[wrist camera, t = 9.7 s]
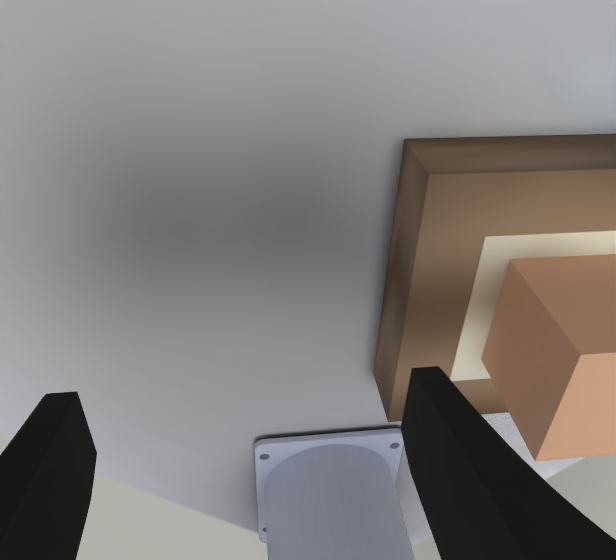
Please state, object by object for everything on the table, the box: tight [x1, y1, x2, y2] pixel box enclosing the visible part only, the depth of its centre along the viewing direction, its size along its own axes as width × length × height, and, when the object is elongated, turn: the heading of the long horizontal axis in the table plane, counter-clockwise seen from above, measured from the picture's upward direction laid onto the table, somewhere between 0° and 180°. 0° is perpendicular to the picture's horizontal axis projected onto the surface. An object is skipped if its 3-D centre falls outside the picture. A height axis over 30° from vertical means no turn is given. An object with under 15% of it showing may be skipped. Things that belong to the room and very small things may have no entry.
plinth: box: [374, 134, 616, 422], centre depth 23 cm, size 12×12×3 cm
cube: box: [481, 254, 616, 461], centre depth 20 cm, size 5×5×5 cm
